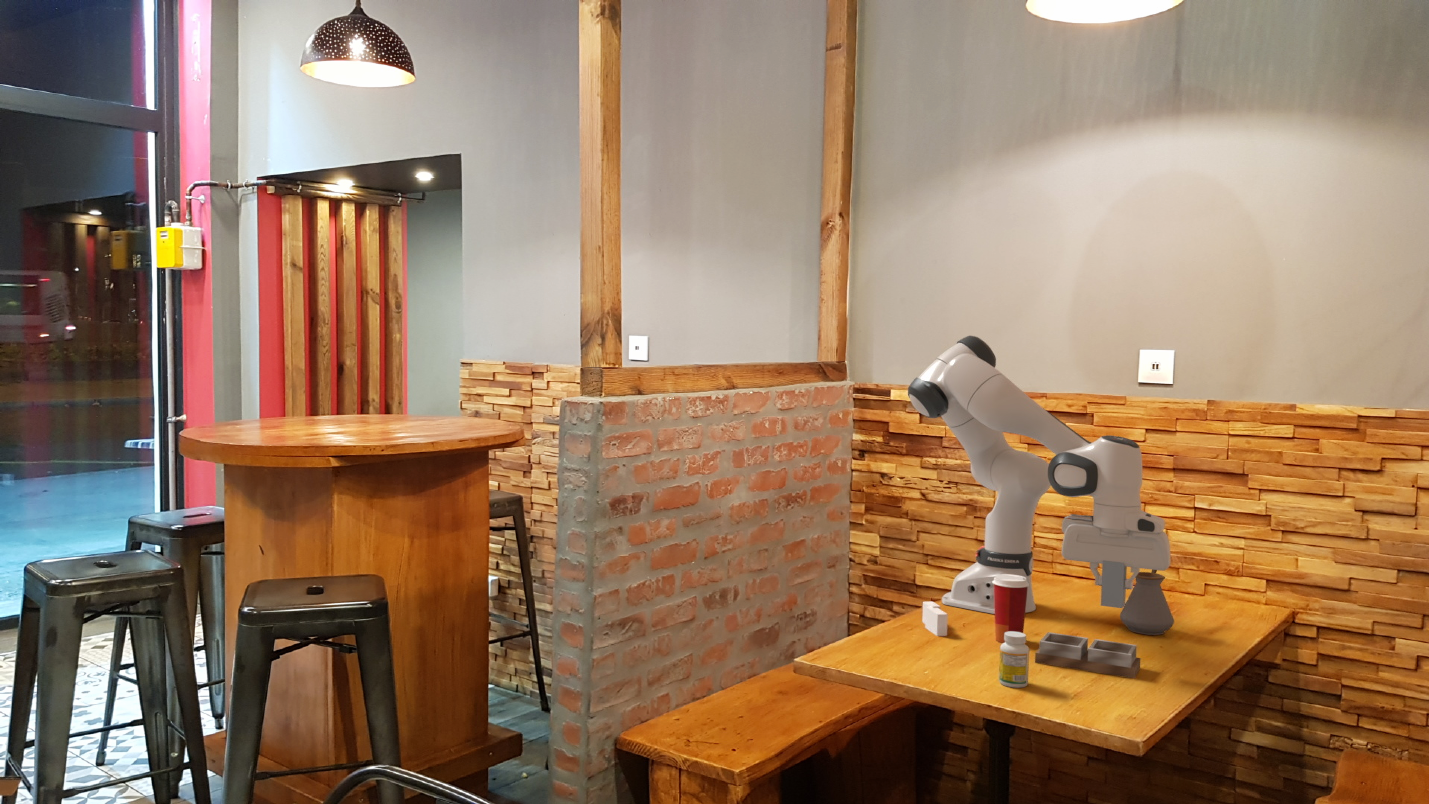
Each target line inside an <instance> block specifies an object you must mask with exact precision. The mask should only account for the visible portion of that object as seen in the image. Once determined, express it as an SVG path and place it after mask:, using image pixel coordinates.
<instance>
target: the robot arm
mask: <svg viewBox="0 0 1429 804" xmlns="http://www.w3.org/2000/svg"><path fill="white" fill-rule="evenodd" d="M996 365H997V357H996V355H995V353H994V352H993V349H992V348H991V347H990V345H989V344H988V343H987V342H985V341H984V340H983V339H982V338H980V337H978V336H975V335H967V336H965V337H963V338H961V339H960V340H958V341H957V342H956V343H955V344H954V345H952V346H951V347H949V348H948V349H946V350H945V351H944V352H942V353H941V354H940V355H938V356H937V357H936V358H935V360H934V361H932V362H931V363H930V364H929V365H928V367H926V368H925V369H924V370H923V371H922V373H920V375H919V376H918V377H915V378H913V381H912V382H910V385H908V388H907V396H908V398H909V400H910V402H911V405H912V406H913V408H914V409H915V410H916V411H917V412H919V413H920V414H921V415H923V416H925V417H926V418H929V419H937V418H939V417H941V418H942V420H943V421H944V422H945V423H944V424H946V426H947V427H948V428H949V430H950V431H951V433H952V434H953V435H954V436H955V438H956V439H957V440H958V442H959V443H960V444H961V446H962V448H963V449H964V451H965V452H966V455H967V457H968V459H969V462H970V473H971V475H972V478H973V479H974V480H975V481H976V482H977V483H978V484H980V485H981V486H982V487H984V488H986V489H988V490H990V491H995V492H997V496H996V500H995V504H994V506H993V508H992V510H991V511H990V512H989V513H987V515H986V517H985V526H984V545H981V546H980V547H979V548H978V550H976V552H975V560H976V562H975V563H973V564H972V565H969V566H968V567H967V568H965V569H964V570H963V571H960V572H959V573H958V574H957V575H956V576H955V578H954V580H953V582H952V586H951V591H949V592H946V593H945V594H943V596H942V597H941V602H942V604H943V605H946V606H951V607H955V608H961V609H967V610H971V611H975V612H982V613H987V614H993V615H995V601H994V584H993V583H992V581H993V580H994V578H995V577H996V575H1001V574H1011V575H1019V576H1023V577H1026V578H1027V581H1028V583H1029V586H1028V588H1027V600H1026V609H1025V614H1027V613H1031V612H1035V610H1037V606H1036V603H1035V599H1034V593H1033V592H1034V591H1033V584H1032V583H1033V582H1032V574H1033V569H1034V557H1033V556H1034V553H1033V551H1032V538H1033V537H1032V536H1033V533H1032V532H1033V523H1034V516H1035V513H1036V510H1037V508H1038V504H1039V502H1040V500H1041V498H1042V496H1044V494H1046V493H1047V492H1048V491H1049V489H1050V488H1052V489H1053V490H1054V491H1055V492H1056V493H1057V494H1059V495H1061V496H1064V497H1069V498H1079V497H1087V496H1091V497H1092V498H1093V510H1092V511H1093V513H1092V515H1087V514H1076V513H1071V514H1069V515H1066V516H1065V517H1064V518H1063V520H1062V523H1061V524H1062V525H1061V530H1062V533H1063V534H1064V536H1063V540H1062V545H1061V556H1062V558H1063V559H1064V560H1065V561H1067V560H1068V561H1075V562H1083V563H1089V569H1090V571H1091V572H1092V574H1093V576H1094V577H1095V578H1094V584H1095V586H1097V587H1099V586H1100V587H1102V575H1101V574H1100V572H1099V570H1098V567H1099V566H1100V564H1101V565H1102V562H1103V561H1111V562H1120V563H1124V566H1126V567H1127V568H1130V573H1132V575H1131V576H1130V578H1126V579H1125V580H1124V584H1125V585H1124V589H1126V590H1131V591H1132V590H1133V588H1134V580H1136V578H1135V577H1136V576H1137V574H1138V573H1139V572H1141V571H1140V569H1144V570H1145V569H1146V570H1151V571H1152V570H1157V571H1162V572H1163V571H1166V570H1167V569H1169V568H1170V565H1171V563H1172V562H1171V545H1170V539H1169V537H1168V534H1167V533H1166V532H1165V531H1164V530H1165V527H1166V522H1165V521H1166V520H1165V519H1164V518H1162V517H1160V516H1157V515H1155V514H1151V513H1149V512H1146V511H1144V510H1142V500H1141V496H1140V492H1141V487H1142V485H1143V456H1142V450H1141V447H1140V445H1139V444H1138V443H1137V442H1136V441H1134V440H1133V439H1130V438H1126V437H1123V436H1117V435H1111V434H1110V435H1102V436H1100V437H1099V438H1098V439H1096V440H1095V441H1093V442H1092V441H1089V440H1087V439H1086V438H1085V437H1083V436H1081V435H1080V434H1079V433H1078V432H1076V431H1075V430H1073V429H1072V428H1071V427H1070V426H1069V425H1067V424H1065V423H1064V422H1063V421H1062V420H1060V419H1059V418H1058V417H1056V416H1055V415H1053V414H1052V413H1050V412H1049V411H1048V410H1047V409H1045V408H1043V407H1042V406H1041V405H1040V404H1039V403H1038V402H1036V400H1034V399H1033V398H1031V397H1029V395H1027V394H1026V393H1025V392H1024V391H1023V390H1022V389H1021V388H1020V387H1018V386H1017V385H1016V384H1015V383H1014V382H1013V381H1012V380H1010V379H1009V378H1008V377H1006V375H1005V374H1003V373H1002V372H1001V371H1000V370H998V369H997V368H996ZM1004 433H1009V434H1016V435H1020V436H1025V437H1027V438H1028V437H1029V438H1031V439H1032V440H1035V441H1037V442H1039V443H1040V444H1041V445H1043V446H1044V447H1045V448H1047V449H1048V450H1050V451H1051V452H1052V453H1053V454H1055V455H1054V456H1053V457H1052V458H1051V460H1050V462H1049V463H1048V462H1047V461H1046V460H1045V459H1043V458H1042V457H1040V456H1038V455H1036V454H1035V453H1032V452H1028V451H1023V450H1018V449H1014V447H1012V446H1011V445H1010V444H1009V443H1008V442H1007V440H1006V437H1005V435H1004Z"/></svg>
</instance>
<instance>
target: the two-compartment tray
mask: <svg viewBox="0 0 1429 804" xmlns="http://www.w3.org/2000/svg"><path fill="white" fill-rule="evenodd" d="M1137 647H1138V645H1137V644H1131V643H1124V642H1118V641H1110V640H1103V639H1098V638H1095V639H1094V640H1093V641H1092V643H1091V644H1090V645H1089V638H1088V637H1083V636H1077V635H1076V636H1075V635H1069V634H1063V633H1062V634H1061V633H1056V632H1047V633H1046V634H1045V635H1044V636H1043V637H1042V639H1040V640H1039V647H1038V649H1037V650H1036V651H1035V654H1034V663H1036V664H1040V665H1041V664H1042V665H1049V666H1053V667H1060V668H1068V669H1072V670H1078V671H1080V670H1081V671H1086V672H1091V673H1092V672H1093V673H1096V674H1097V673H1099V674H1102V675H1103V674H1105V675H1110V676H1116V677H1123V678H1129V679H1136V676H1137V674H1138V673H1139V671H1140V670H1141V658H1142V657H1141V658H1140V657H1138V656H1137V654H1138V653H1137Z"/></svg>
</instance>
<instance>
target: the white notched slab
mask: <svg viewBox="0 0 1429 804" xmlns="http://www.w3.org/2000/svg"><path fill="white" fill-rule="evenodd" d="M948 616H949V615H948V612H945V611H943V610H942V609H941V605H939V604H937V603H936V602H934V601H923V602H922V622H921V623H923V624H924V628H925V629H926V630H928V631H929V632H930V633H932V634H933V635H934V636H936V637H945V636H947V635H948Z"/></svg>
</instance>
